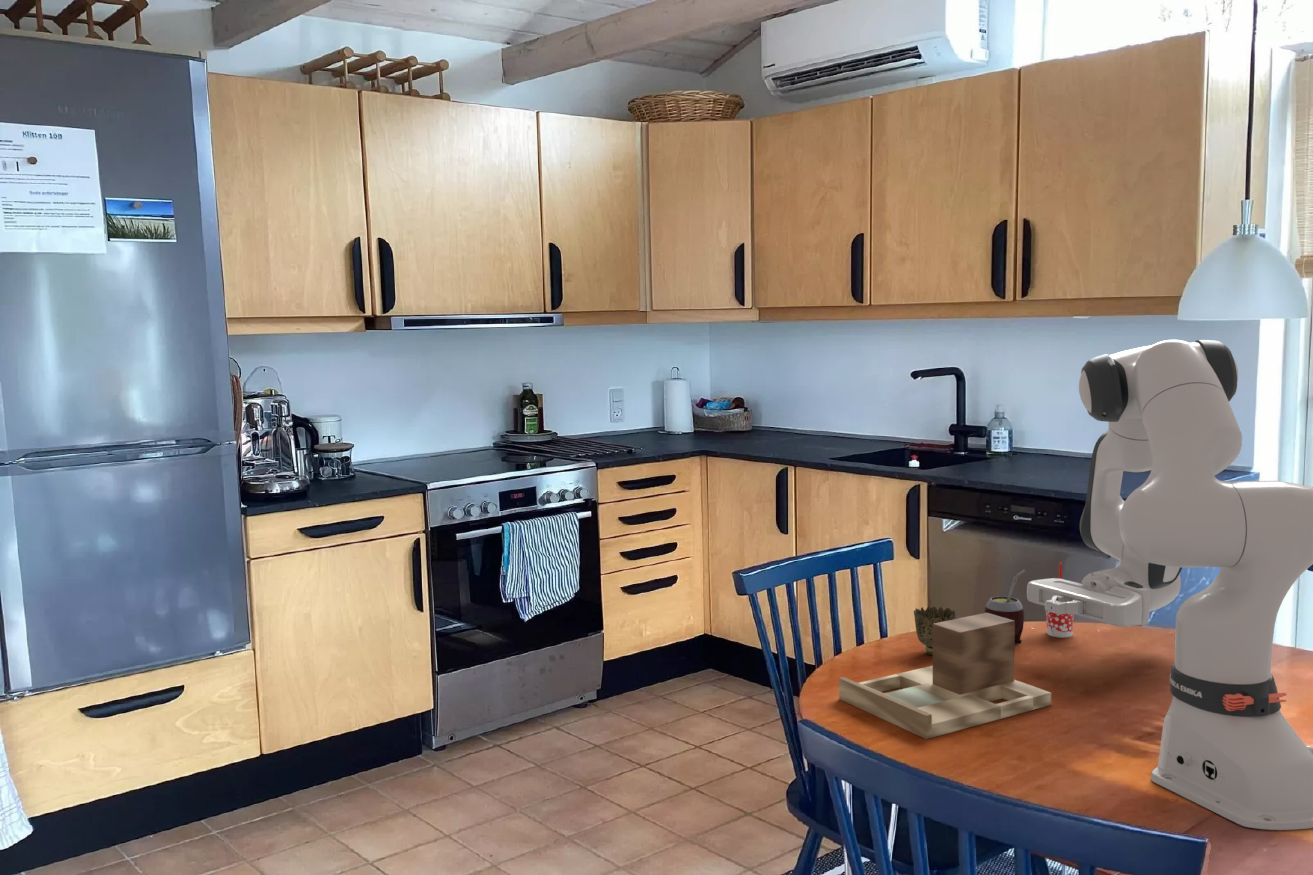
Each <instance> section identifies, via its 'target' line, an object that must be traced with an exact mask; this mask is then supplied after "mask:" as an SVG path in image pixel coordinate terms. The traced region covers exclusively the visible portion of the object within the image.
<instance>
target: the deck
mask: <svg viewBox="0 0 1313 875" xmlns="http://www.w3.org/2000/svg"><path fill="white" fill-rule="evenodd" d="M895 689H897V690H895ZM891 690H893V691H891ZM886 691H890V692H886ZM883 692H885V693H883ZM838 696H839V697H838V700H840V701H842V702H845V703H846V704H849V705H851V706H853V707H855V708H857V709H859V710H862V711H864V712H866V713H868V714H871V715H872V716H875V717H877V718H879V719H881V720H884V721H885V722H888V723H890V724H893V725H895V726H897V727H899V728H901V729H904V730H906V731H907V732H910V733H913V734H914V735H917V736H919V737H921V738H923V739H925V740H930V739H932V738H935V737H939V736H943V735H947V734H950V733H954V732H958V731H961V730H965V729H968V728H971V727H975V726H979V725H983V724H987V723H991V722H995V721H998V720H1002V719H1005V718H1009V717H1011V716H1012V717H1013V716H1016V715H1020V714H1023V713H1027V712H1030V711H1034V710H1036V709H1041V708H1045V707H1049V706H1052V692H1050V691H1048V690H1045V689H1042V688H1039V687H1036V686H1034V685H1031V684H1028V683H1025V682H1023V681H1020V680H1016V679H1014V681H1012V682H1008V683H1004V684H1000V685H996V686H992V687H988V688H984V689H980V690H977V691H973V692H969V693H965V694H961V695H959V694H957V693H954V692H951V691H949V690H946V689H944V688H941V687H939V686H936V685H934V684H933V665H930V666H925V667H920V668H916V669H912V670H908V671H903V672H898V673H895V674H890V675H886V676H882V677H877V678H872V679H869V680H864V681H859V682H856V681H854V680H852V679H849V678H847V677H845V676H843V677H839V678H838ZM1001 699H1003V700H1005V701H1003V702H1002V701H1001V702H998V703H994V702H995V701H997V700H1001Z"/></svg>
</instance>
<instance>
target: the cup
mask: <svg viewBox="0 0 1313 875" xmlns="http://www.w3.org/2000/svg"><path fill="white" fill-rule="evenodd" d="M913 617H914V623H915V631H916V632H915V633H916V636H917V639H918V641H919V642H920V643H921V644H922V645H924V647H923V649H924V652H925V653H926V654H927V655H929V656H933V624H934V623H939V622H944V621H948V620H953V619H957V613H956V611H955V610H954V609H953V610H952V609H951V608H950V607H947V608H945V609H944V608H943V607H942V606H940V607H939V608H938V609H937V607H936V606H932V607H930V605H929V606H927V607H926V609H924V607H921V608H918V607H916V608H915V610H913Z"/></svg>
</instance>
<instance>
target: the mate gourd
mask: <svg viewBox="0 0 1313 875" xmlns="http://www.w3.org/2000/svg"><path fill="white" fill-rule="evenodd" d="M1026 570H1027V569H1025V568H1024V569H1022V570H1021V571H1019V572H1017V573H1016V574H1014V576H1013V578H1012V579H1011V584H1010V585H1011V586H1010V589H1009V592H1008V593H1007V594H1008V595H1007V596H1005V595H1003V596H1001V595H1000V596H993V597H990V598H989V600H988V601H987V603H986V604H985V609H984V613H990V614H993V615H997V616H1000V617H1004V618H1007V619H1010V620H1014V621H1015V644H1022V639H1021V636H1022V634H1023V629H1024V623H1025V611H1024V607H1023V604H1022V602H1021V601H1020V600H1019V599H1018V598H1016V597H1013V596H1012V594H1013V592H1014V588H1015V585H1016V584H1017V581H1018V578H1019V577H1020V575H1021V574H1023V573H1024V572H1026Z"/></svg>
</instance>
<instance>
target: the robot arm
mask: <svg viewBox="0 0 1313 875" xmlns="http://www.w3.org/2000/svg"><path fill="white" fill-rule="evenodd" d="M1237 365H1238V364H1237V363H1236V360H1235V357H1234V356H1233V353H1232V351H1231V349H1230V348H1229V347H1228V346H1227V345H1226V344H1224V343H1223V342H1221V341H1220V340H1212V339H1197V340H1195V341H1194V342H1188V341H1186V340H1182V339H1167V340H1161V341H1158V342H1156V343H1154V344H1152V345H1145V346H1139V347H1136V348H1130V349H1127V350H1123V351H1119V352H1116V353H1111V354H1109V353H1104V354H1100V355H1098V356H1095V357H1093V358H1090V359H1088V360H1087V361H1086V362H1085V364H1084V365H1083V367H1082V368H1081V372H1080V378H1079V380H1078V381H1079V383H1078V393H1079V397H1080V401H1081V402H1082V404H1083V406H1084V408H1085V409H1086V411H1087V413H1088V415H1089V416H1090V417H1092V418H1093V419H1095V420H1096V421H1100V422H1108V430H1107V431H1104V432H1103V433H1102V434H1101V435H1100V436H1099V437H1098V438H1097V440H1096V442H1095V444H1094V447H1093V451H1092V453H1091V454H1092V455H1091V459H1090V468H1089V474H1088V480H1087V482H1088V483H1087V490H1086V491H1087V492H1086V497H1085V498H1086V499H1085V505H1084V508H1083V510H1082V514H1081V516H1080V520H1079V532H1080V536H1081V539H1082V541H1083V543H1084V544H1085V546H1087V547H1088V548H1090V549H1093V550H1096V551H1097V552H1100V553H1102V554H1105V555H1108V556H1110V557H1112V558H1113V559H1116V560H1117V561H1119V562H1120V564H1119V565H1118V566H1116V567H1113V568H1108V569H1102V570H1098V571H1094V572H1090V573H1088V574H1086V575H1085V576H1084V577H1083V579H1082V580H1081V582H1076V581H1072V580H1069V579H1068V580H1067V579H1066V578H1065V579H1064V578H1062V579H1059V577H1058V578H1057V577H1052V578H1050V577H1049V578H1042V579H1034V580H1031V581H1029V582H1028V583H1027V586H1026V599H1027V601H1028V602H1030V603H1034V604H1036V605H1040V606H1044V611H1045V612H1046V611H1049V612H1052V613H1056V614H1059V615H1061V614H1065V613H1066V614H1074V616H1075V615H1076V616H1079V617H1083V618H1087V619H1089V620H1093V621H1098V622H1100V623H1101V622H1102V623H1104V624H1108V625H1110V626H1115V627H1119V628H1120V627H1122V628H1127V627H1135V626H1140V627H1141V626H1145V625H1146V626H1147V625H1148V624H1149V621H1150V612H1153V611H1157V610H1159V609H1161V608H1164V607H1165V606H1167V605H1169V604H1170V603H1171V602H1173V601H1174V600H1175V599H1176V598H1177V596H1178V595H1179V594H1180V591H1181V587H1182V579H1181V576H1180V573H1181V572H1182V570H1183V568H1220V570H1219V572H1218V574H1217V576H1216V577H1215V579H1214V580H1213V581H1212V582H1211V583H1210V584H1209V585H1208V586H1207V587H1205V588H1204V589H1203V590H1201V591H1199V592H1198V591H1197V593H1195V594H1193V595H1191V596H1189V597H1187V598H1186V599H1185V600H1184V601H1183V602H1182V604H1181V605H1180V606H1179V608H1178V609H1177V610H1178V611H1177V612H1176V614H1175V615H1176V616H1175V636H1174V639H1175V640H1174V641H1175V643H1174V646H1175V647H1174V662H1173V663H1172V665H1171V666H1170V674H1169V684H1170V685H1169V687H1170V688H1169V692H1170V694H1171V695H1172V699H1171V703H1170V706H1169V708H1168V711H1167V712H1166V714H1165V716H1164V719H1163V725H1162V731H1161V732H1162V733H1161V740H1160V747H1159V755H1158V762H1157V766H1156V767H1155V768H1154V769H1152V771H1151V775H1150V781H1152V782H1153V783H1155V784H1157V785H1158V786H1161V787H1163V788H1164V789H1167V790H1168V791H1171V792H1174V794H1176V795H1179V796H1180V797H1183V798H1185V799H1187V800H1189V801H1191V802H1193V803H1195V804H1197V805H1200V806H1201V807H1203V808H1205V809H1207V810H1210V811H1211V812H1214V813H1216V814H1218V815H1219V816H1221V817H1224V818H1225V819H1227V820H1230V821H1231V822H1234V823H1235V824H1237V825H1240V826H1242V827H1245V828H1252V829H1259V830H1270V831H1283V830H1284V831H1285V830H1286V831H1289V830H1291V831H1293V830H1304V829H1305V830H1306V829H1312V828H1313V747H1312V746H1310V744H1305V742H1304V741H1303V740H1302V738H1301V737H1300V736H1299V735H1298V734H1297V731H1295V730H1294V728H1293V726H1292V725H1291V723H1290V722H1288V720H1287V719H1286V718H1285V716H1284V715H1283V713H1282V711H1281V708H1282V705H1281V703H1284V702H1287V700H1286V699H1280V698H1282V697H1285V696H1287V693H1286V692H1278V686H1277V685H1276V681H1275V677H1274V675H1272V656H1273V655H1272V653H1273V642H1274V633H1275V624H1276V620H1277V616H1278V613H1279V610H1280V608H1281V606H1282V603H1283V601H1284V600H1285V597H1286V596H1287V594H1288V592H1289V591H1290V589H1291V588H1292V586H1293V585H1294V584H1295V583H1296V582H1297V580H1298V578H1299V577H1301V575H1302V574H1304V572H1305V571H1306V570H1308V569H1309V568H1310V567H1311V566H1312V565H1313V486H1309V485H1304V484H1299V483H1294V482H1287V481H1280V480H1254V481H1252V480H1246V481H1243V480H1240V481H1239V480H1237V481H1227V480H1220V479H1219V478H1217V477H1216V476H1217V475H1218V474H1220V473H1221V472H1223V471H1225V469H1228V467H1230V465H1231V464H1233V463H1234V462H1235V460H1236V459H1237V458H1238V457H1239V454H1240V452H1241V449H1242V444H1243V436H1242V431H1241V429H1240V427H1239V424H1238V421H1237V419H1236V417H1235V414H1234V411H1233V409H1232V406H1231V404H1230V401H1231V400H1232V398H1234V396H1235V395H1236V393H1237V388H1238V380H1239V370H1238V366H1237ZM1149 471H1150V474H1149V475H1148V477H1147V478H1146V480H1145V481H1144V482H1143V483H1141V485H1140V486H1138V487H1137V488H1135V489H1134V490H1133V491H1132V492H1131V493H1130V494H1129V495H1128V496H1127V498H1126V499H1125V500H1124V499H1123V498H1122V496H1121V490H1122V489H1121V488H1122V482H1123V481H1122V480H1123V474H1124V472H1129V473H1130V472H1131V473H1143V472H1149Z"/></svg>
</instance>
